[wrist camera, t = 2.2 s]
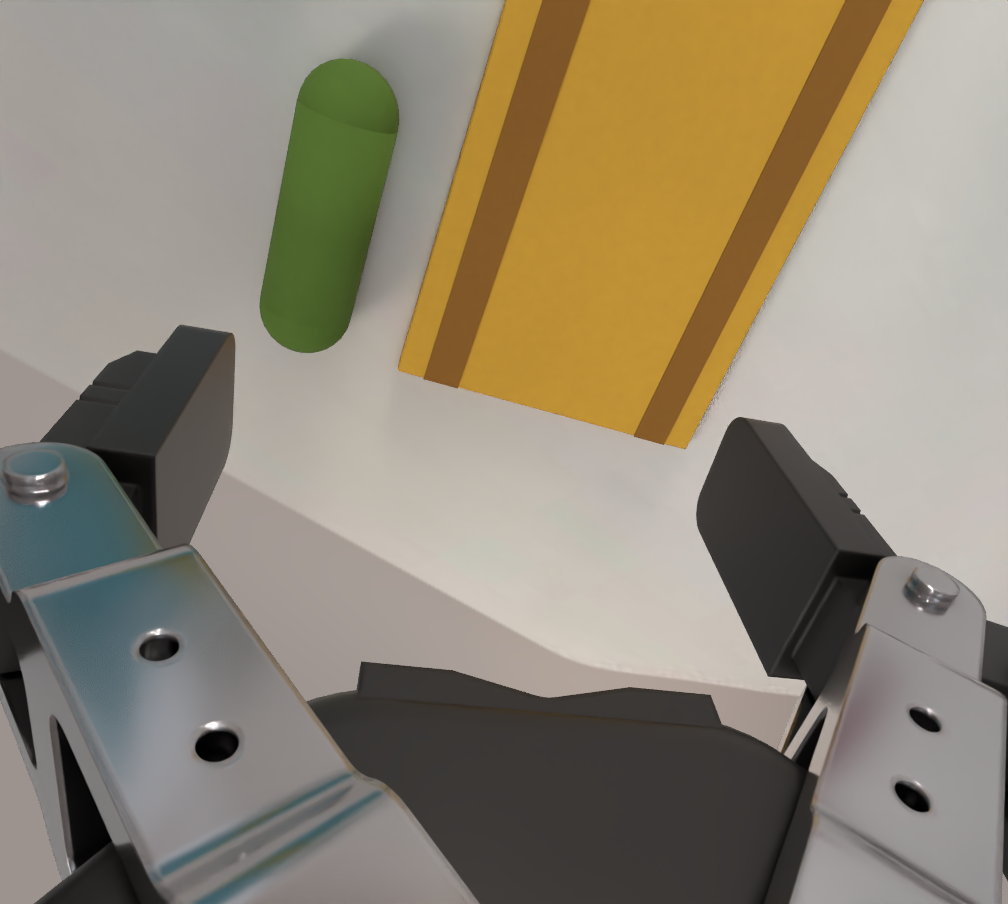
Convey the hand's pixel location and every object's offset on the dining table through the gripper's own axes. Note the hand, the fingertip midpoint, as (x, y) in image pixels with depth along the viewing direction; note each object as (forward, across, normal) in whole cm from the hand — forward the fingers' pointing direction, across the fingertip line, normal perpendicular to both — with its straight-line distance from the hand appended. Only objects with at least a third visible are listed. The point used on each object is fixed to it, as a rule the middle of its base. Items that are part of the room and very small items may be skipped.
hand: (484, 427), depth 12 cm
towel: (+21, -7, -1) cm, 22 cm away
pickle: (+21, +5, +2) cm, 22 cm away
